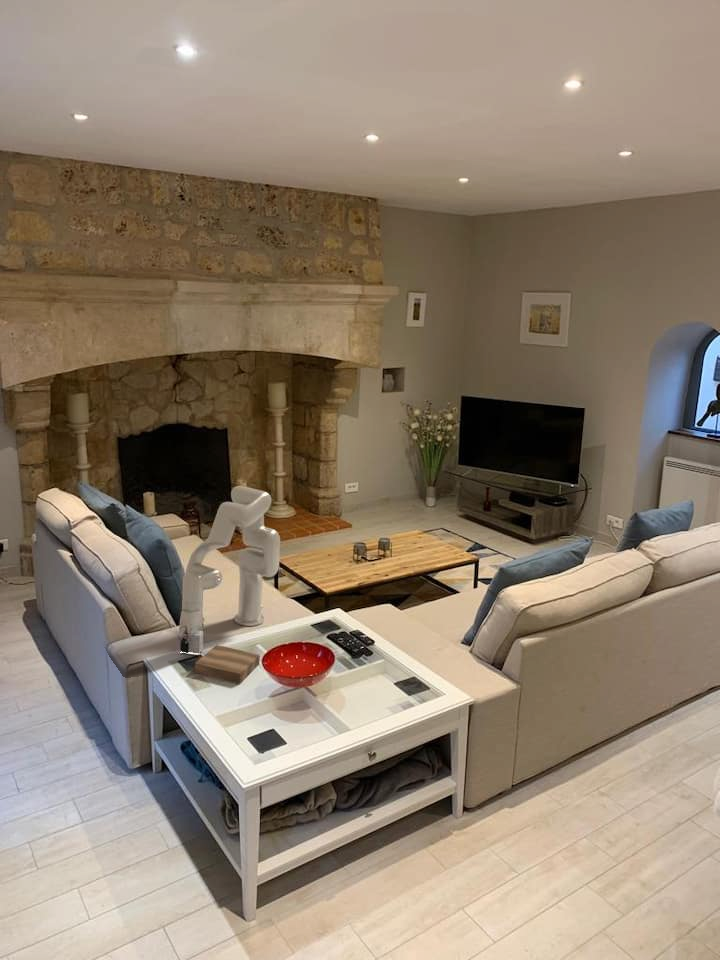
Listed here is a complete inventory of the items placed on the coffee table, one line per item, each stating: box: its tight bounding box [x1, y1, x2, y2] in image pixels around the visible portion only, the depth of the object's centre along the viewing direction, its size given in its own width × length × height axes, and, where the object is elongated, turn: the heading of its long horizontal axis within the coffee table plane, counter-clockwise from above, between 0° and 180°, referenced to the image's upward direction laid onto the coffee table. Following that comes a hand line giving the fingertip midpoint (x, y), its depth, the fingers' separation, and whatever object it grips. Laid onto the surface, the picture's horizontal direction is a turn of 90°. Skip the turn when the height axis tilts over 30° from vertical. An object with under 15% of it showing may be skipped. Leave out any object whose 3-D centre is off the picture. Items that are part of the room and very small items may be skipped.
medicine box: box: [179, 631, 204, 653], centre depth 275 cm, size 8×4×9 cm, turn 84°
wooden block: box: [194, 644, 260, 685], centre depth 266 cm, size 16×18×4 cm
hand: (191, 646), depth 276 cm, fingers open, 9 cm apart
